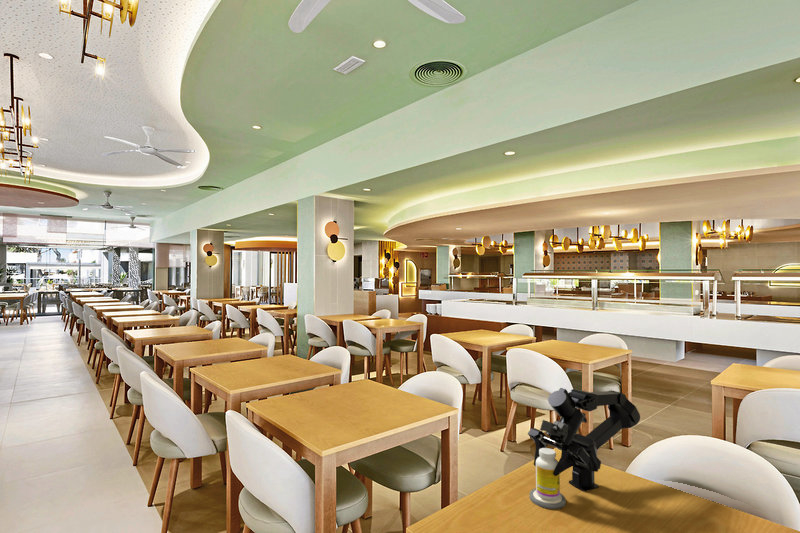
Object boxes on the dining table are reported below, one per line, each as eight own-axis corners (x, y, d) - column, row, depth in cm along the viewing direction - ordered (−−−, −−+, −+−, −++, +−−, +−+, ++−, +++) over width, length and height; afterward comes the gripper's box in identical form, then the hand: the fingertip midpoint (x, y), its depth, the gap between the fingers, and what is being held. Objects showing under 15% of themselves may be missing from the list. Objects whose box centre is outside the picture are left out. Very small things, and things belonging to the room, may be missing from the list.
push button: (546, 488, 129) (546, 484, 129) (573, 503, 120) (573, 499, 120) (522, 495, 124) (522, 492, 124) (548, 512, 115) (548, 508, 115)
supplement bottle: (561, 502, 118) (561, 456, 119) (537, 499, 120) (536, 454, 120) (557, 490, 125) (557, 447, 125) (534, 488, 126) (534, 445, 127)
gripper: (531, 402, 133) (506, 443, 127) (583, 419, 117) (557, 468, 111) (548, 422, 137) (525, 463, 131) (600, 441, 121) (576, 489, 115)
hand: (544, 470), depth 122 cm, fingers open, 7 cm apart
